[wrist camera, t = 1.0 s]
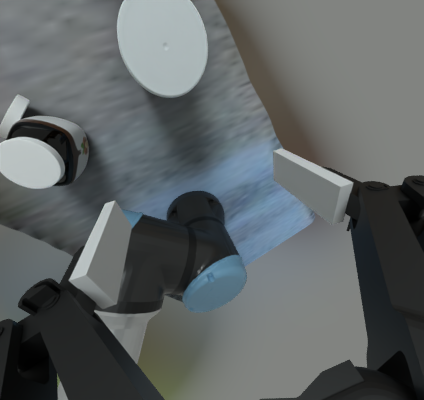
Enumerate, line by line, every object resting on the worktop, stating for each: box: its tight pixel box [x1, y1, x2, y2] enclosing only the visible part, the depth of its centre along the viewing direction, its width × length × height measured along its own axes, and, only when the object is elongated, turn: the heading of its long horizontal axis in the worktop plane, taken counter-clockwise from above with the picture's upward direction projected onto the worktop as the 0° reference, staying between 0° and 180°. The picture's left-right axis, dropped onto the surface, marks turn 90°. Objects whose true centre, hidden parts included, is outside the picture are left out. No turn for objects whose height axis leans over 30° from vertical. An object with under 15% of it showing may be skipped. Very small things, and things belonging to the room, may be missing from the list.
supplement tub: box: [117, 0, 208, 98], centre depth 25 cm, size 10×10×15 cm
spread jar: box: [0, 94, 89, 189], centre depth 27 cm, size 12×11×12 cm
